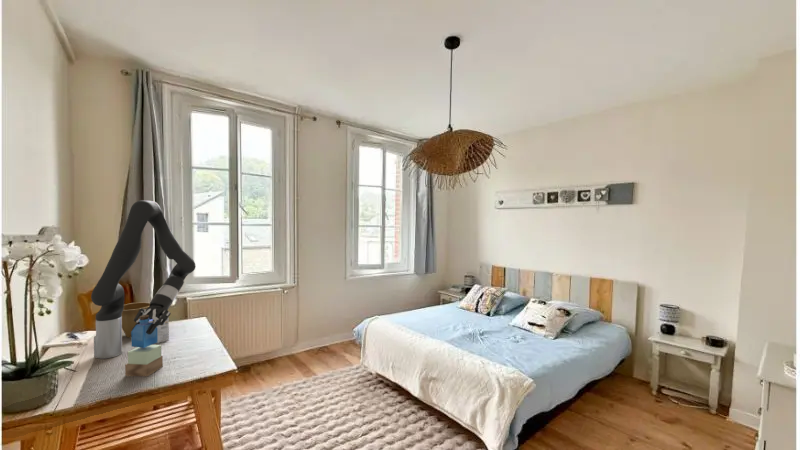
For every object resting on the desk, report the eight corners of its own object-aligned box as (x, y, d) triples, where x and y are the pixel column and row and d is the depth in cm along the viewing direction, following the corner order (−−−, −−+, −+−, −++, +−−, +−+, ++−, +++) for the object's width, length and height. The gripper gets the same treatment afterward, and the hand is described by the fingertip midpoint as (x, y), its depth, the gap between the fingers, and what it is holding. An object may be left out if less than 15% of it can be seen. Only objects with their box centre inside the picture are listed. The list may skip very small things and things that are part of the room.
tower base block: (125, 376, 140) (125, 364, 140) (141, 367, 149) (141, 355, 149) (147, 376, 140) (147, 364, 140) (162, 367, 149) (162, 355, 149)
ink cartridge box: (164, 337, 183) (164, 310, 183) (169, 340, 180) (169, 312, 180) (143, 343, 175) (142, 315, 174) (148, 346, 172) (147, 317, 172)
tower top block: (127, 363, 141) (127, 351, 141) (143, 355, 149) (143, 344, 149) (146, 364, 140) (146, 352, 140) (161, 356, 148) (161, 345, 148)
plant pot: (115, 334, 187) (115, 305, 186) (149, 328, 197) (149, 301, 197) (118, 342, 176) (117, 311, 176) (153, 335, 186) (153, 306, 186)
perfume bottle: (144, 347, 141) (143, 318, 140) (131, 346, 142) (131, 317, 142) (157, 342, 147) (157, 314, 146) (145, 341, 148) (144, 313, 148)
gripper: (145, 292, 152) (119, 327, 141) (173, 294, 150) (150, 330, 139) (155, 301, 158) (132, 335, 147) (183, 303, 155) (161, 338, 144)
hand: (141, 332), depth 143 cm, fingers closed on perfume bottle, 6 cm apart
